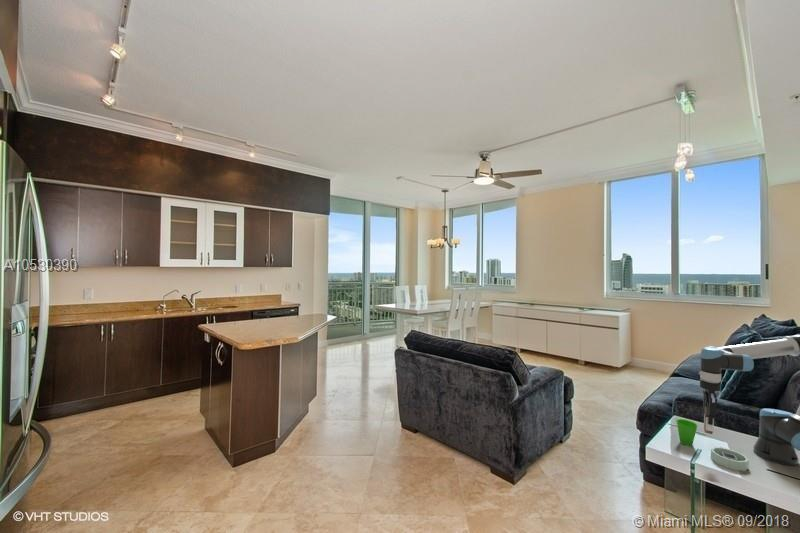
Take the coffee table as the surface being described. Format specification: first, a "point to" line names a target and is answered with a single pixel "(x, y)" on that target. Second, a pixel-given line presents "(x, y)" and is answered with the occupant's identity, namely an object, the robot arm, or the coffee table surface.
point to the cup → (686, 431)
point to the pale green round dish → (729, 458)
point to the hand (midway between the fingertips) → (708, 429)
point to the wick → (705, 423)
